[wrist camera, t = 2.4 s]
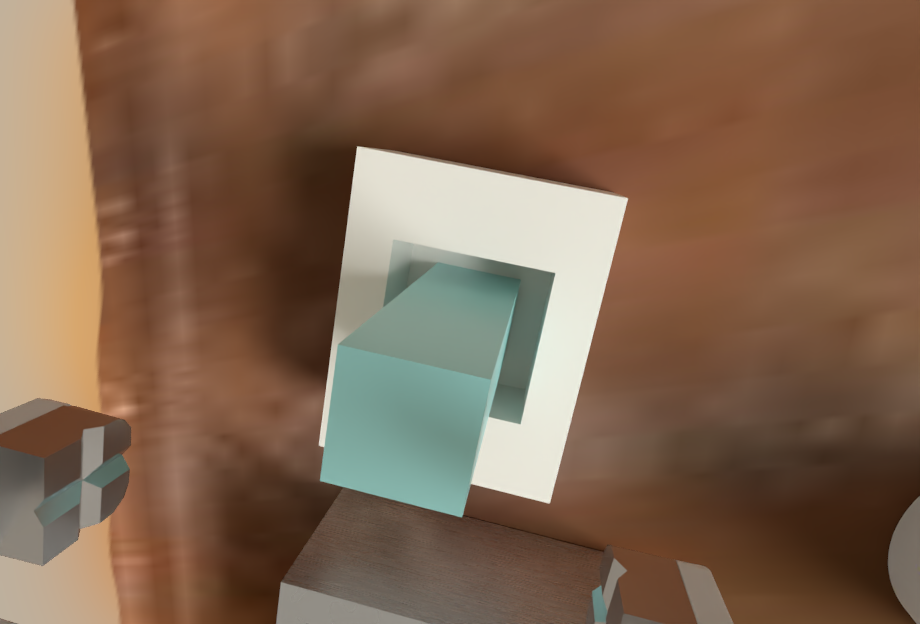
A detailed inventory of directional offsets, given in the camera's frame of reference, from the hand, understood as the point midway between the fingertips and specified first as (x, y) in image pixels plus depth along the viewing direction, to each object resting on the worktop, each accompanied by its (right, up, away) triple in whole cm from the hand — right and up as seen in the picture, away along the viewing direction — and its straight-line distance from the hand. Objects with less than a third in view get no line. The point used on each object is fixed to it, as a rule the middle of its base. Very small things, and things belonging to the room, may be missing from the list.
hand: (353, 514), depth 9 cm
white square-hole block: (+2, +4, +12) cm, 13 cm away
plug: (+2, +3, +11) cm, 12 cm away
